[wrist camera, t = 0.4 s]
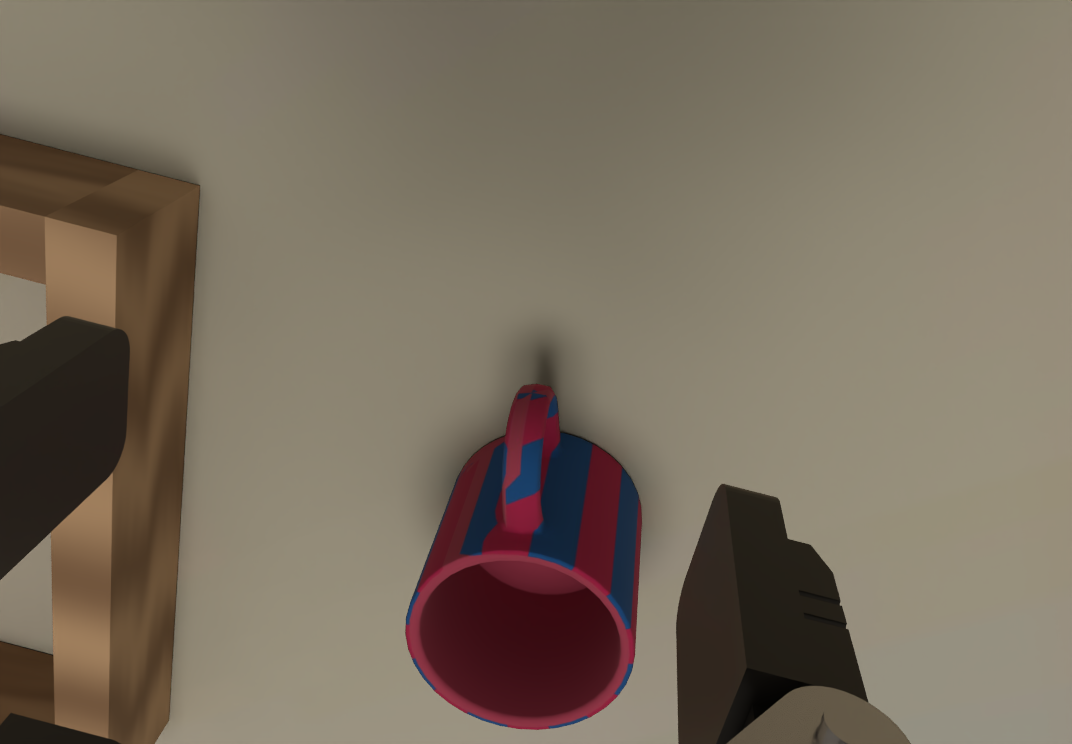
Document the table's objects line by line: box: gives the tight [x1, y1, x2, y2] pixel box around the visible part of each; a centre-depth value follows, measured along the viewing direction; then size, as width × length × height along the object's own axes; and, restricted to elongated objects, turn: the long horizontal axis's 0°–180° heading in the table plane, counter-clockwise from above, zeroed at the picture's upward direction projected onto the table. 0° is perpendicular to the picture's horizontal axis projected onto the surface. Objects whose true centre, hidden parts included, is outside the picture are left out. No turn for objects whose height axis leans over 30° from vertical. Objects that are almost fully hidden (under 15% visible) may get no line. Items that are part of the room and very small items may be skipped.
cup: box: [405, 384, 642, 730], centre depth 30 cm, size 7×10×7 cm
